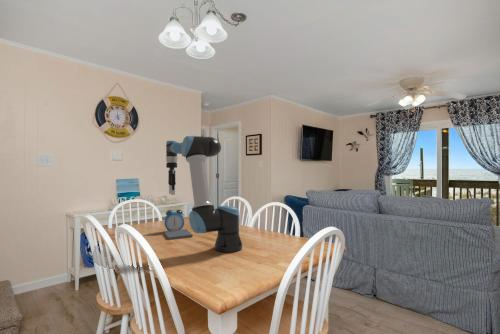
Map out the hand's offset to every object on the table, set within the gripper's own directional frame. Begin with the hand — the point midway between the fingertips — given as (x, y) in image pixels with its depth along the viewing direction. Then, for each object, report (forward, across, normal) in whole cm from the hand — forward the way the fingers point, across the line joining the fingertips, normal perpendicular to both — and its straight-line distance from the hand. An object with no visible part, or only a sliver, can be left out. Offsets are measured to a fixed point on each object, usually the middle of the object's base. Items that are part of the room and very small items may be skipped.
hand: (171, 194), depth 199 cm
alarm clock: (+25, -9, 0) cm, 27 cm away
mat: (+25, -21, 0) cm, 33 cm away
